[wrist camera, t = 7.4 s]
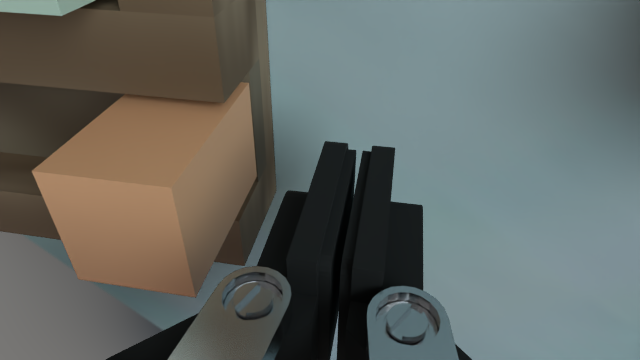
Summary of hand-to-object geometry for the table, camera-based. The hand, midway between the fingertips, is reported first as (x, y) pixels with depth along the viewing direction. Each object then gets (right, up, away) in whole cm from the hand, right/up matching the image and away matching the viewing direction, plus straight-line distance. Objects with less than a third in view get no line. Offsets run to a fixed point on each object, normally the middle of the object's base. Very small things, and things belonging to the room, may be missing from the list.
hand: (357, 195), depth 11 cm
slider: (-4, +2, +3) cm, 6 cm away
